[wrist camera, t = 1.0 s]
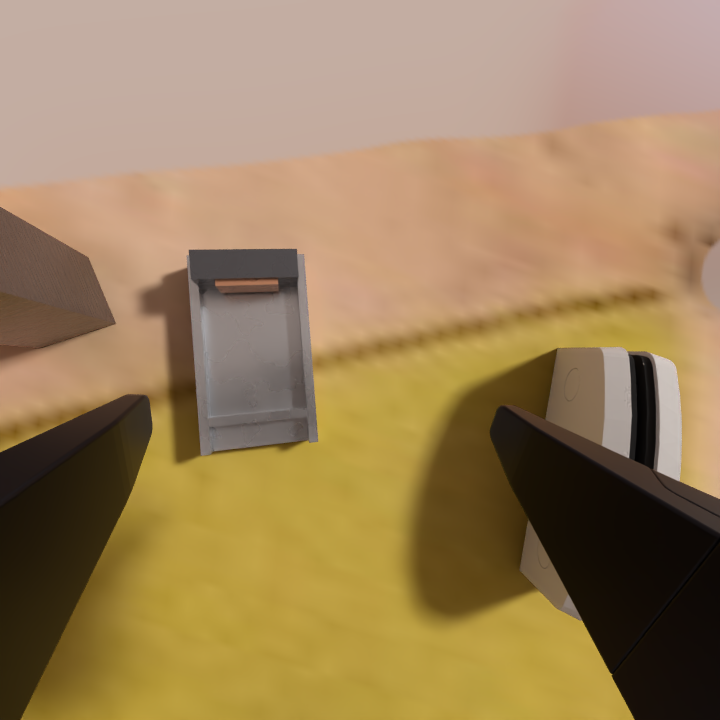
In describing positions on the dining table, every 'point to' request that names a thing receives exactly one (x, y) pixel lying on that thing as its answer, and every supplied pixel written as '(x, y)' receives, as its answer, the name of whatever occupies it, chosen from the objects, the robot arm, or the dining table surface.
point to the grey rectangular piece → (251, 348)
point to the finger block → (45, 288)
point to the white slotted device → (610, 427)
